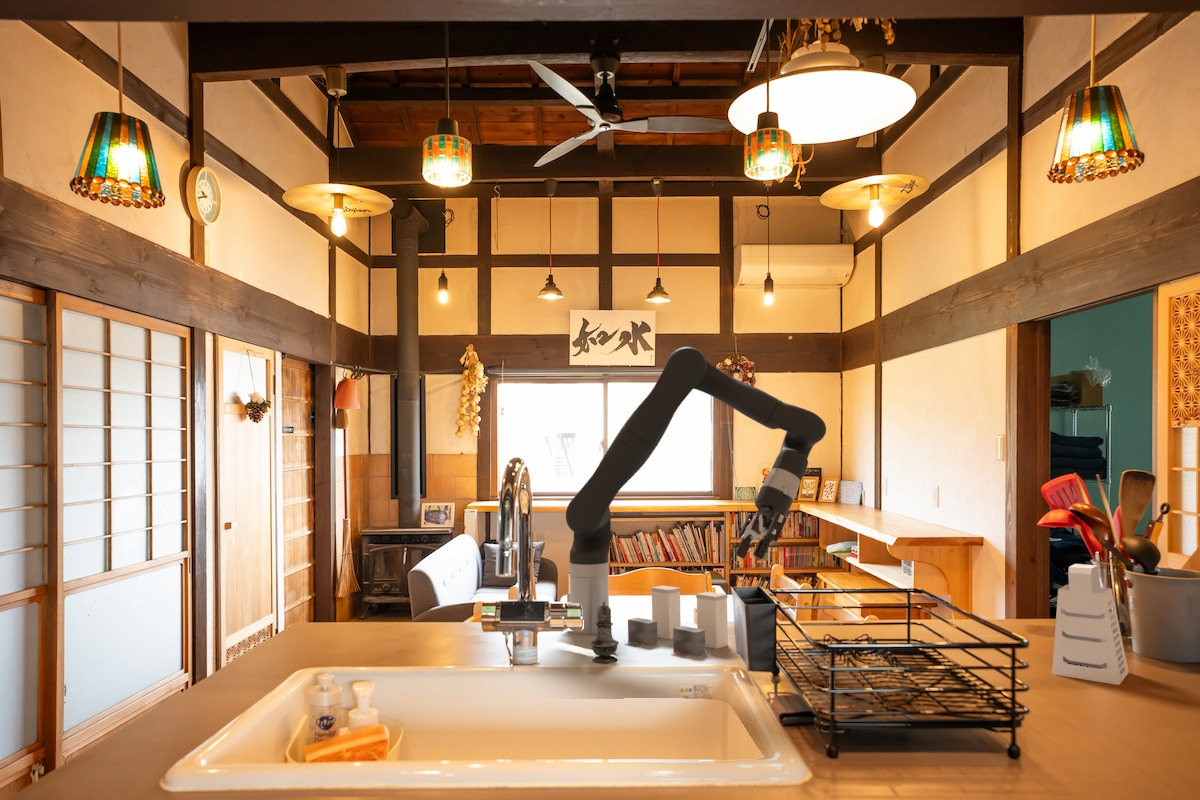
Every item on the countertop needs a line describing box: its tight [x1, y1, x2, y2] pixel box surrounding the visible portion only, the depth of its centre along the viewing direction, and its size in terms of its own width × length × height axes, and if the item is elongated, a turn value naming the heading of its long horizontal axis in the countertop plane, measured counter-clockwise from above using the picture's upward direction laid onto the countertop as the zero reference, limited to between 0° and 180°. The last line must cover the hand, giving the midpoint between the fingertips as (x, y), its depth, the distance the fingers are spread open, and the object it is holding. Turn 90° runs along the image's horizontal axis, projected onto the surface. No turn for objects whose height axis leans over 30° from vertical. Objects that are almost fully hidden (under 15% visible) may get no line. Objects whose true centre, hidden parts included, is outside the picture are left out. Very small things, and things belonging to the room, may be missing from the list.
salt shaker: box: [590, 602, 620, 665], centre depth 154 cm, size 6×6×12 cm
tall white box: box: [695, 591, 729, 650], centre depth 160 cm, size 5×4×11 cm
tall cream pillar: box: [650, 585, 682, 640], centre depth 170 cm, size 5×4×11 cm
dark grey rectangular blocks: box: [624, 617, 706, 658], centre depth 163 cm, size 25×20×6 cm
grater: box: [1051, 563, 1130, 686], centre depth 141 cm, size 10×10×20 cm
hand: (748, 557), depth 163 cm, fingers open, 8 cm apart
